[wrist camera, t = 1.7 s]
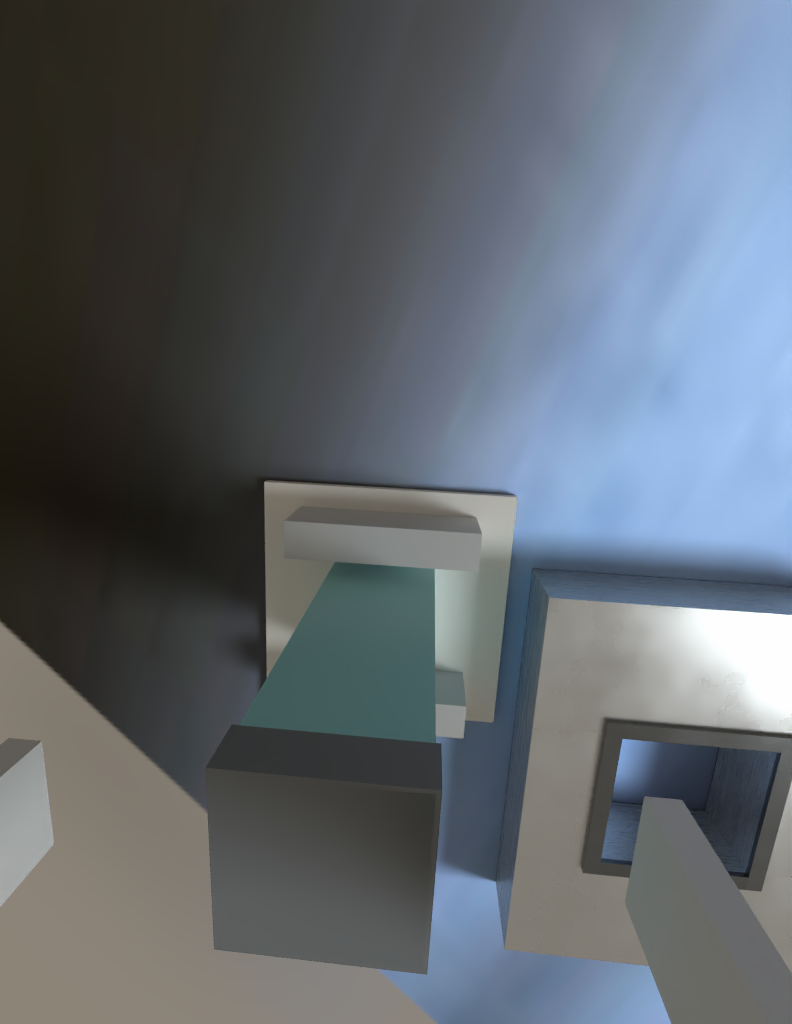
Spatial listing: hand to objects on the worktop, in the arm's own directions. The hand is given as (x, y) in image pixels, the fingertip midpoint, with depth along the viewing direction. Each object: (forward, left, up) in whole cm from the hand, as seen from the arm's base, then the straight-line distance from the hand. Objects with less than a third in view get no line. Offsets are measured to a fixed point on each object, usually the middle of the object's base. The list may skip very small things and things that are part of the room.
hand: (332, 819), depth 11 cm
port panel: (+6, +12, -11) cm, 17 cm away
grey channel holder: (0, 0, -11) cm, 11 cm away
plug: (0, 0, -10) cm, 10 cm away
